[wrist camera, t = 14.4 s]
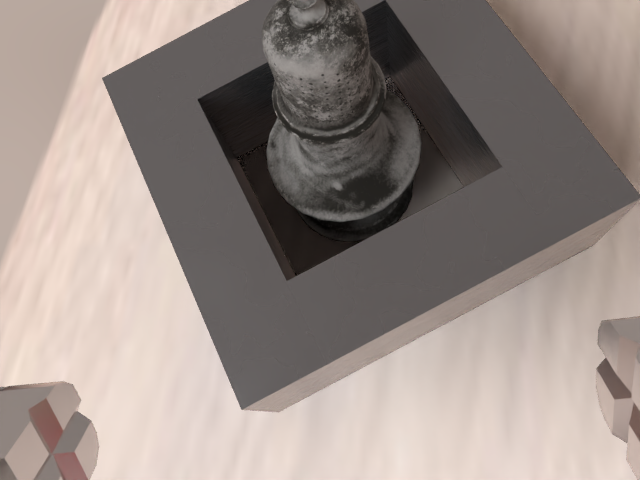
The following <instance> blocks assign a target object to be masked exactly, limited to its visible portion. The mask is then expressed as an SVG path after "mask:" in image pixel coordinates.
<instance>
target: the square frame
mask: <svg viewBox="0 0 640 480" xmlns="http://www.w3.org/2000/svg"><path fill="white" fill-rule="evenodd" d="M277 1H278V0H249V1H247V2H245V3H243V4H241V5H239V6H238V7H236V8H234V9H232V10H230V11H228V12H226V13H224V14H222V15H221V16H219V17H217V18H215V19H213V20H211V21H209V22H207V23H205V24H204V25H202V26H200V27H198V28H196V29H194V30H192V31H190V32H188V33H187V34H185V35H183V36H181V37H179V38H177V39H175V40H173V41H171V42H169V43H168V44H166V45H164V46H162V47H160V48H158V49H156V50H154V51H152V52H151V53H149V54H147V55H145V56H143V57H141V58H139V59H137V60H135V61H134V62H132V63H130V64H128V65H126V66H124V67H122V68H120V69H118V70H117V71H115V72H113V73H111V74H109V75H107V76H105V77H103V78H102V79H103V81H104V84H105V86H106V89H107V91H108V93H109V96H110V98H111V100H112V103H113V105H114V108H115V110H116V112H117V115H118V117H119V119H120V122H121V124H122V127H123V129H124V131H125V134H126V136H127V139H128V141H129V143H130V146H131V148H132V150H133V153H134V155H135V158H136V160H137V162H138V165H139V167H140V169H141V172H142V174H143V177H144V179H145V181H146V184H147V186H148V188H149V191H150V193H151V196H152V198H153V200H154V203H155V205H156V207H157V210H158V212H159V215H160V217H161V219H162V222H163V224H164V226H165V229H166V231H167V234H168V236H169V238H170V241H171V243H172V245H173V248H174V250H175V253H176V255H177V257H178V260H179V262H180V264H181V267H182V269H183V272H184V274H185V276H186V279H187V281H188V283H189V286H190V288H191V291H192V293H193V295H194V298H195V300H196V302H197V305H198V307H199V310H200V312H201V314H202V317H203V319H204V321H205V324H206V326H207V329H208V331H209V333H210V336H211V338H212V340H213V343H214V345H215V348H216V350H217V352H218V355H219V357H220V359H221V362H222V364H223V367H224V369H225V371H226V374H227V376H228V378H229V381H230V383H231V386H232V388H233V390H234V393H235V395H236V398H237V400H238V402H239V405H240V407H241V409H242V410H252V411H268V412H280V411H282V410H284V409H285V408H287V407H289V406H291V405H293V404H295V403H297V402H299V401H301V400H302V399H304V398H306V397H308V396H310V395H312V394H314V393H316V392H318V391H319V390H321V389H323V388H325V387H327V386H329V385H331V384H333V383H334V382H336V381H338V380H340V379H342V378H344V377H346V376H348V375H350V374H351V373H353V372H355V371H357V370H359V369H361V368H363V367H365V366H367V365H368V364H370V363H372V362H374V361H376V360H378V359H380V358H382V357H383V356H385V355H387V354H389V353H391V352H393V351H395V350H397V349H399V348H400V347H402V346H404V345H406V344H408V343H410V342H412V341H414V340H416V339H417V338H419V337H421V336H423V335H425V334H427V333H429V332H431V331H432V330H434V329H436V328H438V327H440V326H442V325H444V324H446V323H448V322H449V321H451V320H453V319H455V318H457V317H459V316H461V315H463V314H465V313H466V312H468V311H470V310H472V309H474V308H476V307H478V306H480V305H481V304H483V303H485V302H487V301H489V300H491V299H493V298H495V297H497V296H498V295H500V294H502V293H504V292H506V291H508V290H510V289H512V288H514V287H515V286H517V285H519V284H521V283H523V282H525V281H527V280H529V279H530V278H532V277H534V276H536V275H538V274H540V273H542V272H544V271H546V270H547V269H549V268H551V267H553V266H555V265H557V264H559V263H561V262H563V261H564V260H566V259H568V258H570V257H572V256H574V255H576V254H578V253H579V252H581V251H583V250H585V249H587V248H589V247H591V246H593V245H594V244H595V243H596V242H597V241H598V240H599V239H600V238H601V237H602V236H603V235H604V234H605V233H606V232H607V231H608V230H609V229H610V228H611V227H612V226H613V225H614V224H615V223H616V222H618V221H619V220H620V219H621V218H622V217H623V216H624V215H625V214H626V213H627V212H628V211H629V210H630V209H631V208H632V207H633V206H634V205H635V204H636V203H637V202H638V201H639V200H640V194H639V193H638V192H637V191H636V189H635V188H634V187H633V186H632V184H631V183H630V182H629V181H628V179H627V178H626V177H625V175H624V174H623V173H622V172H621V170H620V169H619V168H618V167H617V165H616V164H615V163H614V162H613V160H612V159H611V158H610V157H609V155H608V154H607V153H606V151H605V150H604V149H603V148H602V146H601V145H600V144H599V143H598V141H597V140H596V139H595V138H594V136H593V135H592V134H591V133H590V131H589V130H588V129H587V128H586V126H585V125H584V124H583V122H582V121H581V120H580V119H579V117H578V116H577V115H576V114H575V112H574V111H573V110H572V109H571V107H570V106H569V105H568V104H567V102H566V101H565V100H564V98H563V97H562V96H561V95H560V93H559V92H558V91H557V90H556V88H555V87H554V86H553V85H552V83H551V82H550V81H549V80H548V78H547V77H546V76H545V75H544V73H543V72H542V71H541V69H540V68H539V67H538V66H537V64H536V63H535V62H534V61H533V59H532V58H531V57H530V56H529V54H528V53H527V52H526V51H525V49H524V48H523V47H522V45H521V44H520V43H519V42H518V40H517V39H516V38H515V37H514V35H513V34H512V33H511V32H510V30H509V29H508V28H507V27H506V25H505V24H504V23H503V22H502V20H501V19H500V18H499V16H498V15H497V14H496V13H495V11H494V10H493V9H492V8H491V6H490V5H489V4H488V3H487V1H486V0H354V1H355V2H356V3H357V5H358V6H359V8H360V10H361V12H362V14H363V16H364V18H365V20H366V25H367V31H368V39H369V48H370V56H371V57H372V58H373V59H374V60H375V61H376V62H377V63H378V65H379V67H380V68H381V70H382V72H383V74H384V77H385V79H387V78H389V77H390V76H391V78H392V79H393V81H394V82H395V84H396V85H397V87H398V88H399V90H400V91H401V93H402V94H403V96H404V98H405V99H406V101H407V102H408V104H409V105H410V107H411V108H412V110H413V111H414V113H415V114H416V116H417V117H418V119H419V120H420V122H421V123H422V125H423V126H424V128H425V129H426V131H427V132H428V134H429V135H430V137H431V138H432V140H433V141H434V143H435V144H436V146H437V147H438V149H439V150H440V152H441V153H442V155H443V156H444V158H445V159H446V161H447V162H448V164H449V165H450V167H451V168H452V170H453V171H454V173H455V174H456V176H457V178H458V179H459V181H460V182H461V184H462V185H463V187H464V188H462V189H460V190H458V191H456V192H454V193H452V194H450V195H448V196H447V197H445V198H443V199H441V200H439V201H437V202H435V203H433V204H432V205H430V206H428V207H426V208H424V209H422V210H420V211H418V212H416V213H415V214H413V215H411V216H409V217H407V218H405V219H403V220H401V221H399V222H398V223H396V224H394V225H392V226H390V227H388V228H386V229H384V230H382V231H381V232H379V233H377V234H375V235H373V236H371V237H369V238H367V239H365V240H364V241H362V242H360V243H358V244H356V245H354V246H352V247H350V248H348V249H347V250H345V251H343V252H341V253H339V254H337V255H335V256H333V257H332V258H330V259H328V260H326V261H324V262H322V263H320V264H318V265H316V266H315V267H313V268H311V269H309V270H307V271H305V272H303V273H301V274H299V275H298V276H296V275H295V273H294V271H293V269H292V267H291V265H290V263H289V261H288V259H287V257H286V255H285V253H284V251H283V249H282V247H281V245H280V243H279V241H278V239H277V237H276V235H275V233H274V231H273V229H272V227H271V225H270V223H269V221H268V219H267V217H266V215H265V213H264V211H263V209H262V207H261V205H260V203H259V201H258V199H257V197H256V195H255V193H254V191H253V189H252V187H251V185H250V183H249V181H248V179H247V177H246V175H245V173H244V171H243V169H242V167H241V165H240V163H239V161H238V159H237V157H239V156H241V155H243V154H245V153H247V152H249V151H251V150H253V149H254V148H256V147H258V146H260V145H262V144H264V143H266V142H268V140H269V135H270V132H271V130H272V128H273V126H274V124H275V122H276V120H277V116H276V113H275V111H274V109H273V102H272V91H273V86H274V82H275V79H274V76H273V74H272V71H271V69H270V66H269V64H268V61H267V59H266V56H265V54H264V51H263V44H262V28H263V23H264V20H265V18H266V16H267V14H268V12H269V10H270V9H271V8H272V6H273V5H274V4H275V3H276V2H277Z"/></svg>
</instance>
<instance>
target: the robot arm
mask: <svg viewBox="0 0 640 480" xmlns="http://www.w3.org/2000/svg"><path fill="white" fill-rule="evenodd" d="M598 346H599V347H600V349H601V350H602V352H603V354H604V355H605V357H606V358H605V359H604V360H603V362H602V363H601V364H600V365H599V366H598V367H597V368H596V389H597V395H598V400H599V405H600V408H601V411H602V414H603V416H604V419H605V421H606V423H607V425H608V427H609V429H610V431H611V433H612V434H613V435H615V436H616V437H618V438H619V439H621V440H623V441H624V442H626V443H628V444H627V457H626V460H627V462H628V464H629V465H630V467H631V469H632V471H633V473H634V474H635V476H636V478H637V480H640V316H638V317H630V318H621V319H613V320H604V321H602V322H601V325H600V327H599V330H598ZM80 402H81V399H80V397H79V395H78V393H77V391H76V389H75V388H74V386H73V384H70V383H67V382H64V381H61V382H50V383H38V384H27V385H16V386H8V387H0V480H90V478H91V476H92V473H93V471H94V469H95V467H96V464H97V457H98V450H99V443H98V438H97V432H96V430H95V428H94V426H93V423H92V421H91V420H89V419H88V418H86V417H85V416H84V415H82V414H81V413H79V412H78V408H79V405H80Z"/></svg>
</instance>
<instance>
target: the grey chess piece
mask: <svg viewBox="0 0 640 480" xmlns="http://www.w3.org/2000/svg"><path fill="white" fill-rule="evenodd" d="M262 44H263V51H264V54H265V56H266V59H267V61H268V64H269V66H270V69H271V71H272V74H273V76H274V79H275V82H274V86H273V91H272V102H273V109H274V111H275V113H276V116H277V120H276V122H275V124H274V126H273V128H272V130H271V132H270V135H269V140H268V145H267V150H266V153H267V165H268V171H269V173H270V176H271V178H272V181H273V183H274V186H275V188H276V189H277V190H278V191H279V193H280V194H281V195H282V197H283V198H284V199H285V200H286V202H287V203H289V204H290V205H292V206H293V207H294V208H296V209H297V211H298V213H299V215H300V216H301V217H302V219H303V220H304V221H305V222H306V224H307V225H308V226H309V227H310V228H312V229H313V230H315V231H316V232H317V233H319V234H320V235H322V236H325V237H328V238H330V239H333V240H337V241H347V242H354V241H361V240H365V239H367V238H369V237H371V236H373V235H375V234H377V233H379V232H381V231H382V230H384V229H386V228H388V227H390V226H392V225H394V224H395V223H396V222H397V221H398V220H399V218H400V217H401V216H402V214H403V213H404V212H405V210H406V208H407V206H408V203H409V201H410V198H411V194H412V186H413V178H414V175H415V173H416V171H417V168H418V166H419V163H420V154H421V145H422V143H421V138H420V132H419V127H418V124H417V122H416V120H415V118H414V116H413V114H412V112H411V110H410V109H409V108H408V106H407V105H406V104H405V103H404V102H403V101H402V100H401V99H400V98H399V97H398V96H397V95H395V94H394V93H392V92H390V91H389V90H387V88H386V83H385V77H384V74H383V72H382V70H381V68H380V67H379V65H378V63H377V62H376V61H375V60H374V59H373V58H372V57H371V56H370V48H369V39H368V31H367V25H366V20H365V18H364V16H363V14H362V12H361V10H360V8H359V6H358V5H357V3H356V2H355V1H354V0H278V1H277V2H276V3H275V4H274V5H273V6H272V8H271V9H270V10H269V12H268V14H267V16H266V18H265V20H264V23H263V28H262Z"/></svg>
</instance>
